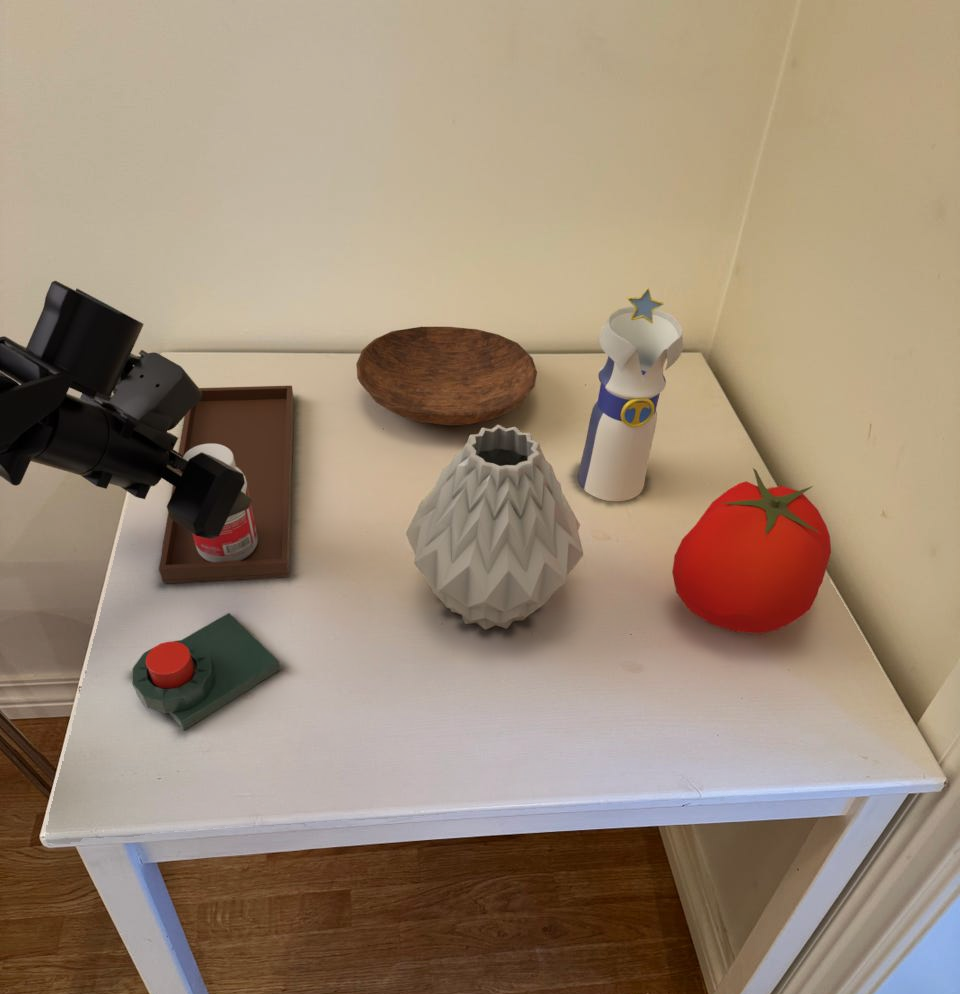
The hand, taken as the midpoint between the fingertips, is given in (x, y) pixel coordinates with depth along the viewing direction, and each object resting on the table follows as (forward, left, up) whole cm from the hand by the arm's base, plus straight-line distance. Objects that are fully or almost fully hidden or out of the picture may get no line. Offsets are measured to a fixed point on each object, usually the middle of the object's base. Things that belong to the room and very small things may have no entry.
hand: (215, 482), depth 82 cm
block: (-11, -12, -9) cm, 18 cm away
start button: (-14, -12, -6) cm, 19 cm away
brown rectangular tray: (+7, +9, -9) cm, 14 cm away
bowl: (+35, +5, -9) cm, 36 cm away
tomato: (+32, -40, -9) cm, 52 cm away
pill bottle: (0, 0, -8) cm, 8 cm away
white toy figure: (+39, -19, -9) cm, 44 cm away
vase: (+15, -23, -9) cm, 29 cm away
